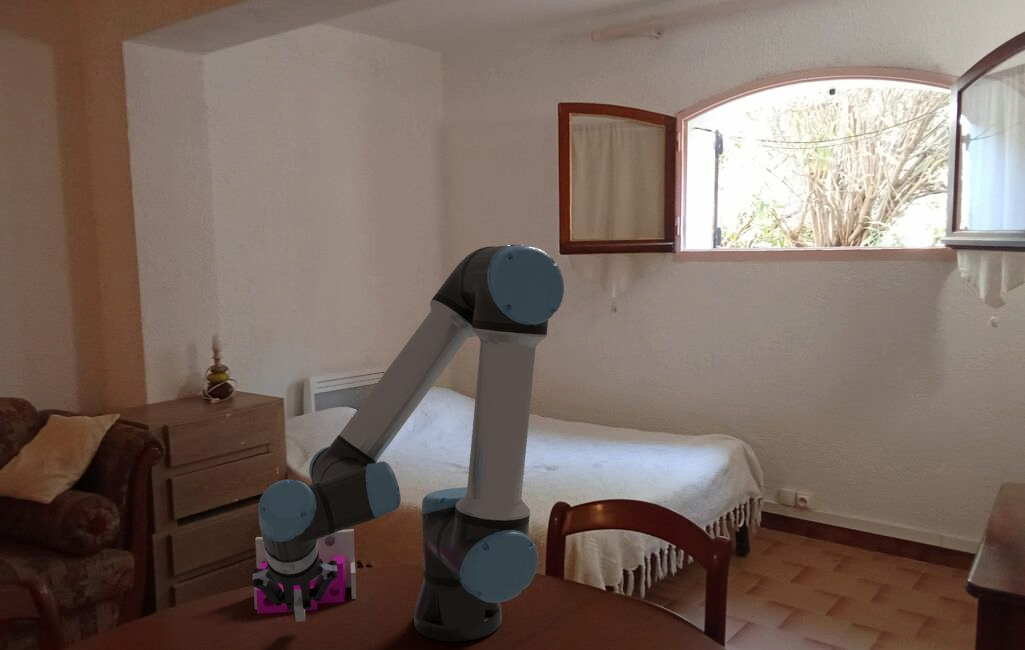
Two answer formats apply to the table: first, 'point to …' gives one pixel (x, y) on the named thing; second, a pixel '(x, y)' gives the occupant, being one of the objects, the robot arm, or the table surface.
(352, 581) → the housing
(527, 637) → the table surface
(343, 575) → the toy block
